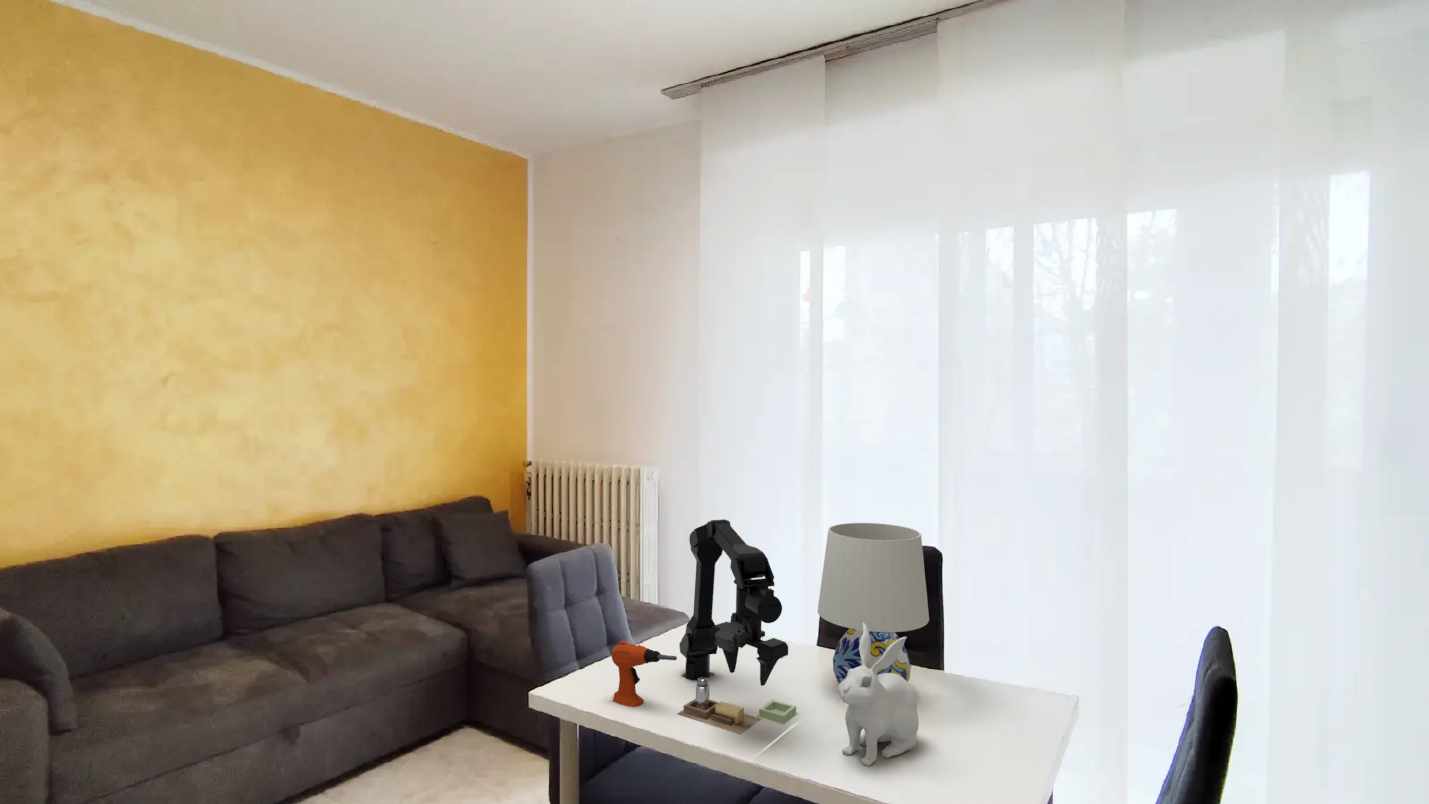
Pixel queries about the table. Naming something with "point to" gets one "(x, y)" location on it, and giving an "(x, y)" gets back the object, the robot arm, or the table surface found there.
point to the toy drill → (632, 670)
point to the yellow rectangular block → (730, 712)
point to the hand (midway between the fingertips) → (747, 678)
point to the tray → (777, 712)
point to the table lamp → (873, 591)
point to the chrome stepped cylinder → (702, 693)
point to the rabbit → (879, 704)
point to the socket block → (716, 717)
